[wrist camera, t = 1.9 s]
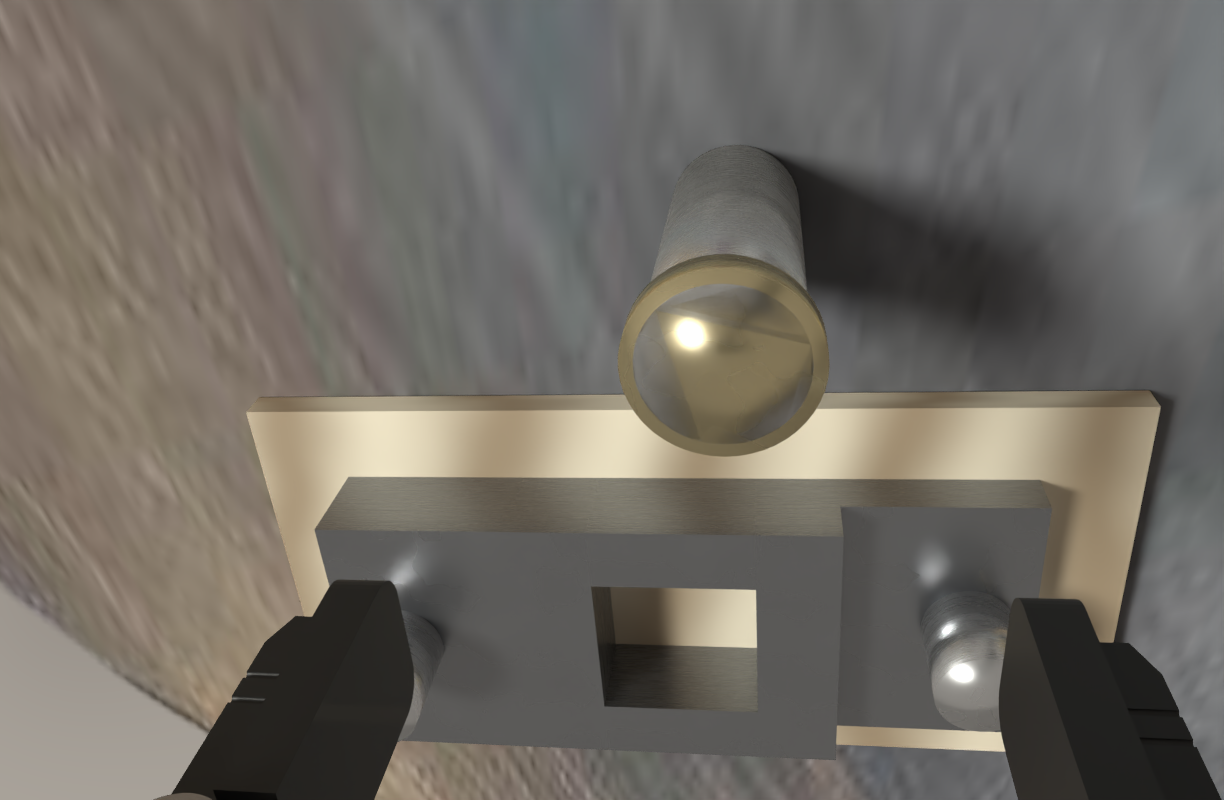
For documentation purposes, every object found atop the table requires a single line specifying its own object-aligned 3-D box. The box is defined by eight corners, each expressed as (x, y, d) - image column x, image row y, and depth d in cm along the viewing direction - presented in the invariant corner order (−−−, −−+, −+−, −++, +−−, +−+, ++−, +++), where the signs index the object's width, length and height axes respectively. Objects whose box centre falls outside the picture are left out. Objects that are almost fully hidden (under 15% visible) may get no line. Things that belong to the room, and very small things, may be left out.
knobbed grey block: (1040, 479, 31) (1095, 610, 26) (1008, 699, 35) (1051, 850, 30) (348, 476, 34) (273, 592, 29) (396, 677, 39) (339, 810, 33)
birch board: (1149, 390, 30) (1160, 406, 29) (1082, 733, 37) (1090, 755, 36) (259, 397, 34) (246, 412, 34) (344, 704, 41) (334, 722, 40)
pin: (811, 130, 28) (831, 265, 19) (808, 275, 30) (826, 456, 21) (656, 137, 28) (609, 271, 20) (665, 278, 30) (625, 456, 22)
